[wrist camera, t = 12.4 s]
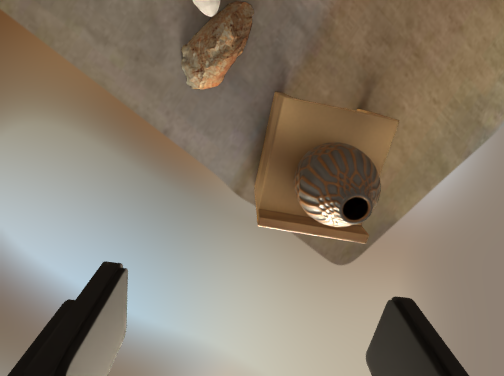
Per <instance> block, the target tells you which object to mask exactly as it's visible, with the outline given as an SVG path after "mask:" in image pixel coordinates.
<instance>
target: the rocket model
mask: <svg viewBox="0 0 504 376" xmlns="http://www.w3.org/2000/svg"><path fill="white" fill-rule="evenodd" d="M192 1H193V2H194V3H195V5H196V6H197V7H198V9H199V10H200V11H201V12H203V13H204V14H205V15H207V16H210V17H213V16H214V15H215V14H216V13H217V11H218V9H219V5H220V0H192Z"/></svg>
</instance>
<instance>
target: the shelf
mask: <svg viewBox="0 0 504 376" xmlns="http://www.w3.org/2000/svg"><path fill="white" fill-rule="evenodd" d="M398 124H399V120H397V119H393V118H390V117H387V116H384V115H380V114H377V113H374V112H371V111H367V110H363V109H357V111H354V110H349V109H344V108H339V107H335V106H330V105H325V104H320V103H315V102H310V101H305V100H300V99H296V98H293V97H291V96H289V95H287V94H285V93H280V92H275V93H274V98H273V103H272V107H271V112H270V117H269V121H268V126H267V131H266V136H265V140H264V145H263V150H262V154H261V159H260V164H259V169H258V173H257V178H256V183H255V187H254V191H255V201H256V211H257V222H258V226H261V227H267V228H273V229H280V230H285V231H292V232H298V233H304V234H310V235H316V236H322V237H329V238H335V239H341V240H347V241H353V242H359V243H366V242H367V239H368V237H369V235H368V233H367V232H366V231H365V229H364V228H363V227H362V223H363V222H361V223H358V224H354V225H351V226H346V227H333V226H328V225H325V224H322V223H320V222H318V221H316V220H315V219H313V218H312V217H311V216H309V215H308V214H307V213H306V212H305V211H304V209H303V208H302V207H301V205H300V203H299V201H298V199H297V197H296V194H295V189H294V175H295V171H296V168H297V166H298V164H299V162H300V160H301V159H302V158H303V156H304V155H305V154H306V153H307V152H308V151H310V150H311V149H313V148H314V147H316V146H319V145H321V144H325V143H330V142H340V143H345V144H349V145H351V146H354V147H356V148H358V149H359V150H361V151H362V152H364V153H365V154H366V155H367V156H368V157H369V158H370V159H371V160H372V162H373V163H374V165H375V167H376V169H377V171H378V174H379V176H380V173H381V171H382V168H383V165H384V162H385V160H386V157H387V154H388V151H389V149H390V146H391V143H392V140H393V138H394V135H395V132H396V129H397V127H398Z"/></svg>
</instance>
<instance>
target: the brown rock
mask: <svg viewBox="0 0 504 376" xmlns="http://www.w3.org/2000/svg"><path fill="white" fill-rule="evenodd" d="M251 7H252V6H251V5H250V4H248V3H246V2H239V1H236V2H234V3H229V4H228V5H227V6H226V8H225V9H224V10H222V11H220V12H219V13H217V14H216V15H215V16H213V17H212V18H211V19H210V20H209V22H208V23H206V24H205V25H204V26H203V27H202V28H201V30H200V31H199V32H197V33H196V34H195V35H194V36H193V38H192V40H190V41H189V43H188V44H187V45H184V46H183V47H182V49H181V50H182V54H183V59H182V63H181V65H182V69H183V71H184V73H185V75H186V77H187V79H188V80H187V85H190V87H191V88H193V89H197V88H199V89H202V90H203V89H205V88H211V87H215V86H217V85H219V84H220V83H221V82H222V81H223V79H224V75H225V74H226V72H227V70H228V69H229V68H230V67H231V65H232V64H233V63H234V62H235V59H236V58H237V56H239V55H240V54H241V53H242V52H243V48H244V47H245V45H246V42H247V39H248V36H249V33H250V30H251V26H252V15H253V13H254V10H253V9H252V8H251Z"/></svg>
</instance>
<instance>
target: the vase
mask: <svg viewBox="0 0 504 376" xmlns="http://www.w3.org/2000/svg"><path fill="white" fill-rule="evenodd" d="M294 189H295V194H296V197H297V199H298V201H299V203H300V205H301V207H302V208H303V209H304V211H305V212H306V213H307V214H308V215H309V216H311V217H312V218H313V219H315V220H316V221H318V222H320V223H322V224H325V225H328V226H333V227H346V226H351V225H354V224H358V223H361V222H363V221H365V220H366V219H367V218H368V217H369V216H370V215H371V213H372V211H373V210H374V208H375V207H376V205H377V203H378V200H379V197H380V191H381V183H380V177H379V174H378V171H377V169H376V167H375V165H374V163H373V162H372V160H371V159H370V158H369V157H368V156H367V155H366V154H365V153H364V152H362V151H361V150H359V149H358V148H356V147H354V146H351V145H349V144H345V143H340V142H330V143H325V144H321V145H319V146H316V147H314V148H313V149H311V150H310V151H308V152H307V153H306V154H305V155H304V156H303V158H302V159H301V160H300V162H299V164H298V166H297V168H296V171H295V175H294Z"/></svg>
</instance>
